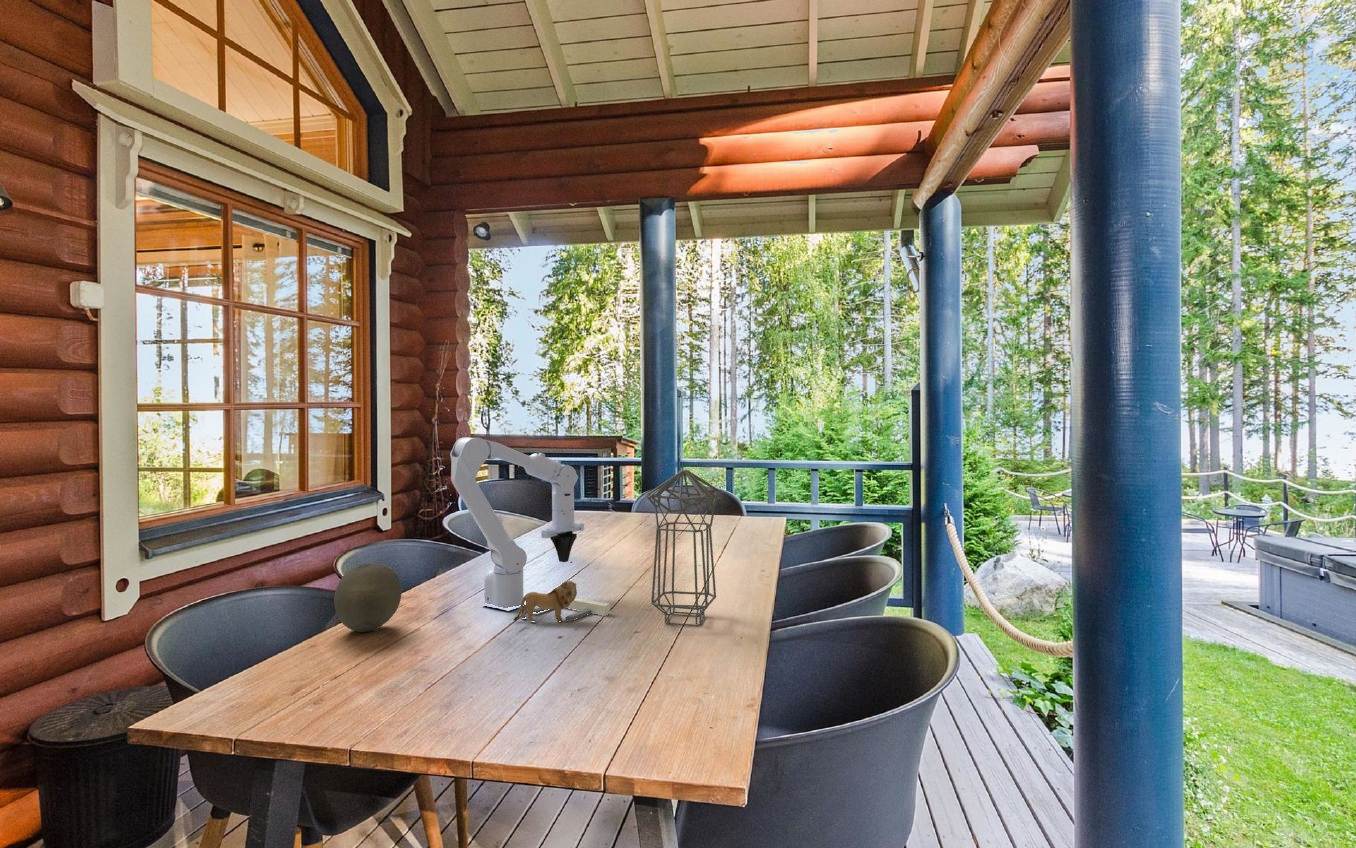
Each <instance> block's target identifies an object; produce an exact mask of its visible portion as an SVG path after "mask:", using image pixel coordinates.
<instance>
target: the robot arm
mask: <svg viewBox="0 0 1356 848" xmlns="http://www.w3.org/2000/svg"><path fill="white" fill-rule="evenodd" d="M449 455H450V461H451V469H450V471H451V472H450V479H451V481H450V482H451V483H452V485H453V487H454V489H455V490H456V492H457V494H458V495H459V496H460V499H462V502H463V504H464V505H465V507H466V508H467V510H468V511H469V513H470V515H471V517H472V518H473V520H474V521H475V523H476V525H477V526H478V528H479V530H480V531H481V534H483V536H484V538H485V540H486V543H487V545H486V546H487V547H488V549H489V551H490V559H491V561H492V563H493V564H494V568H493V569H491V570H490V571H488V572H487V574H486V576H485V577H484V604H485V603H487V604H493V605H495V606H498V607H503V608H508V607H513V606H519V605H521V602H522V599H523V598H524V567H525V566H526V564H527V559H528V558H527V557H528V556H527V553H526V551H525V550H524V549H523V548H522V547H520V546H519V545H517V543H516V541H515V540H514V539H513V538H512V537H511V536H510V535H509V534H508V533H507V531H506V529H505V528H504V526H503V524H502V522H501V521H500V519H499V517H498V516H497V514H496V512H495V511H494V508H492V505H491V504H490V502H489V501H488V499H487V498H486V496H485V494H484V492H483V490H482V488H481V487H480V485H479V483H478V482H477V480H476V478H477V475H478V474H479V473H478V472H479V470H480V468H481V467H482V466H483V464H484V463H486V461H487V460H489V461H491V460H494V459H499V460H502V461H504V462H508V463H511V464H513V465H517V466H519V467H521V468H523V469H524V470H525V473H526V474H527V475H529V476H531V477H534V478H537V479H540V480H542V481H545V482H547V483H550V484H551V497H552V498H551V510H552V511H551V513H552V515H551V516H552V517H551V518H552V519H551V520H552V524H551V525H552V526H549V527H548V528H545V529H542V530H541V533H540V534H541V535H540V536H541V537H540V538H541V539H550V540H551V542H552V545H553V546H554V548H555V551H556V554H557V558H558V561H559V563H567V562H569V560H570V559H569V558H570V555H571V551H572V548H573V546H574V542H575V541H576V539H577V536H578V535H577V533H575V532H578V531H585V523H584V522H575V485H576V483H577V482H578V479H579V475H578V474H577V471H576V469H575V468H574V467H573V466H572V465H568V464H562V461H561V460H559V459H556V460H555V459H552V458H549V457H546V454H545V453H543V452H538V453H537V452H536V453H532V454H531V455H528V454H525V453H523V452H521V451H518V450H516V449H513V448H512V447H510V446H506V445H504V444H502V443H499V442H496V441H492V440H487V439H484V438H481V437H468V436H463V437H461V438H458V439H457V440H456V441H455V443H454V444H453V447H452V449H451V451H450V454H449Z"/></svg>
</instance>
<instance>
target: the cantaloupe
mask: <svg viewBox="0 0 1356 848" xmlns="http://www.w3.org/2000/svg"><path fill="white" fill-rule="evenodd" d="M402 592H403V591H402V583H401V581H400V578H399V575H398V573H397V572H396V570H394V569H393V568H392V567H391V566H389V565H387V564H384V563H379V562H366V563H361V564H358V565H356V566H355V567H352V568H351V569H349V570H347V571H346V572H345V573H344V575H343V576H342V577H341V579H340V581H339V582H338V585H337V586H336V589H335V591H334V596H333V604H334V610H335V612H336V615H337V616H338V619H339V620H340V622H341V624H342V625H344V626H345V627H346V628H348V629H350V630H351V631H354V632H357V633H366V632H365V631H368V632H371V630H372V631H374V630H377V629H379V628H380V627H381V626H383V625H385V624H386V623H387V622H389V620H391V618H392V617H393V616H394V615H395V613H397V610H398V609H399V605H400V603H401V598H402V594H403V593H402Z"/></svg>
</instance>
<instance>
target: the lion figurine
mask: <svg viewBox="0 0 1356 848" xmlns="http://www.w3.org/2000/svg"><path fill="white" fill-rule="evenodd" d="M547 593H548V594H545V593H540V592H536V591H531V592H527V593H526V594H525V595H523V599H522V602H521V606H520V608H519V610H518V613H517V615H516V616H515V617H514V618H512V619H513V620H512V621H518V620H519V618H520V619H521V618H525V617H527V619H528V620H529V622H530V621H536V622H537V620H536V619H533V614H532V613H533V610H534V609H535V606H536V607H537V608H541V609H546V610H548V609H553V610H554V618H555V619H556V621H563V622H564V620H563V619H562V616H561V615H562V609H563V608H567V607H568V606H569V605H570V603H571V602H572V601H574V600H575V598H577V594H578V589H577V583H575V582H574V581H571V580H566V581H564V582H561V584H560V585H558V586H557V587H554V588H553V589H552V590H551V591H550V592H547ZM525 601H526V605H525V606H524V607H523V605H524V602H525ZM526 613H528V614H527V616H525V614H526ZM560 617H561V618H560Z"/></svg>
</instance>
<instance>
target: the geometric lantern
mask: <svg viewBox="0 0 1356 848" xmlns="http://www.w3.org/2000/svg"><path fill="white" fill-rule="evenodd" d="M687 479H688V481H689V482H690V484H691V485H692V487H693V488H694V489H695V491H696V493H693V492H691V493H690V492H689V487H688V481H687ZM679 481H680V482H679ZM678 483H680V485H679V490H677V489H676V487H677V485H678ZM705 485H706V486H707V487H709V488H711V489H708V488H707V487H706V486H705ZM683 486H685V491H683ZM670 487H672V488H671V489H670ZM664 492H667V493H668V495H662V494H663V493H664ZM675 493H677V494H679V496H678V495H677V494H675ZM720 493H722V490H720V489H719V488H717V487H715V486H713V485H712V484H711V483H709V482H707V481H705V480H704V479H703V478H701V477H699V476H698V475H696V474H694V473H693V472H691V471H690V470H689V469H680V470H679V471H678V472H677V473H676V474H675V475H673V476H671V477H670V478H668V479H667V480H666V481H664V482H663V483H661V484H659V485H658V486H656V487H655V488H654V489H652V490H651V491H649V492H647V493H646V494H645V498H646V499H647V500H648V501H649V502H650V503H651V504H652V506H653V507H654V511H655V512H654V514H655V520H656V521H655V523H656V530H655V533H656V534H655V545H654V561H653V573H652V586H651V587H652V588H651V589H652V590H651V602H650V603H651V605H652V606H653V607H655V608H656V609H658V610H659V611H660V612H661V613H662V614H663V615H664V624H666V625H673V626H687V627H688V626H689V627H698V626H702V624H703V621H704V619H705V616H706V614H705V611H706V610H707V609H708V608H709V606H710V605H711V604H712V603H713V602H714V600H715V599H717V593H716V592H717V591H716V590H717V588H716V579H715V578H716V575H715V566H714V562H715V561H714V552H713V551H714V550H713V539H712V526H713V522H714V521H713V520H714V515H715V511H716V510H715V509H716V507H717V502H718V501H717V500H718V498H719V496H720ZM683 495H687V497H684V498H683ZM690 496H691V497H690ZM661 499H666V502H667V504H668V507H667V506H666V505H665V504H663V503H661ZM670 500H678V502H679V507H680V508H678V509H672V508H671V505H670V504H671V503H670ZM692 500H694V501H692ZM706 500H708V501H707V503H708V504H707V507H708V509H706V510H705V513H704V515H702V513H701V511H700V509H699V507H698V506H700V504H701V503H702V502H704V501H706ZM690 501H692V502H690ZM683 504H684V505H683ZM692 506H694V507H696V509H697V512H698V514H699V516H700V517H701V519H702V520H701V522H693V521H691V519H690V518H689V516H688V514H687V512H686V511H685V510H686V509H688V508H690V507H692ZM658 508H659V510H660V512H661V515H662V517H663V518H662V520H661V521H660V523H659V516H658V515H659V514H658ZM662 508H663V509H665V510H666V513H665V514H664V512H663V510H662ZM708 511H712V512H711V517H710V522H709V523H707V522H706V521H705V519H706V516H707V513H708ZM678 512H679V513H678ZM668 513H678V515H677V516H676V518H675V520H674V521H672V522H671V521H670V522H668V520H667V519H666V517H667V515H668ZM682 514H684V516H685V518H686V520H687V522H682V521H681V522H679V521H678V520H679V519H680V517H681V515H682ZM664 521H665V523H664ZM669 525H673V527H672V528H673V529H671V528H669ZM676 525H690V526H691V528H692V529H693V530H692V529H676ZM694 525H699V527H698V529H697V528H695V526H694ZM703 525H704V526H705V528H704V529H701V528H702V526H703ZM664 526H665V528H663V527H664ZM661 531H665V540H664V541H665V544H664V545H665V546H664V561H663V562H664V563H663V578H662V579H663V580H662V581H663V582H662V593H661V539H662V538H661V536H662V535H661V534H662V532H661ZM669 532H672V561H671V563H672V564H671V565H672V567H671V570H672V572H671V590H670V591H665V590H666V578H667V577H666V576H667V563H668V562H667V559H668V542H669ZM676 532H685V533H693V534H692V535H693V541H692V542H693V562H694V563H693V565H694V568H693V569H694V592H693V591H682V590H681V591H680V590H678V591H677V590H675V558H676V556H675V555H676ZM704 532H705V535H706V536H705V538H706V539H705V540H704ZM696 533H700V543H701V545H700V546H701V560H702V572H703V573H702V574H703V575H702V576H703V591H704V592H698V590H699V589H698V565H697V562H698V561H697V539H696ZM704 541H706V555H705V542H704ZM709 548H710V549H709ZM709 552H710V553H709ZM709 555H710V556H709ZM705 556H706V557H705ZM705 558H706V559H705ZM710 562H711V576H712V589H713V594H712V593H710ZM656 573H657V597H656V598H655V586H656ZM674 594H675V595H676V594H678V595H679V594H680V595H695V596H694V597H695V598H694V599H695V605H694V604H675V595H674ZM667 595H671V597H672V604H671V602H670V599H668V597H667ZM699 595H700V596H704V600H703V601H702V603H701V605H699V599H698V598H699ZM663 596H664V598H665V600H666V601H667V603H668V604H664V603H663V604H661V598H662V597H663ZM709 596H710V597H712V598H711V599H710V600H709V601H708V597H709ZM704 604H705V605H704ZM665 608H667V610H665ZM676 609H684V610H692V611H693V610H694V611H696V612H685V611H676ZM668 612H669V613H668ZM671 616H675V617H676V616H677V617H688V618H690V617H691V618H695V623H678V622H677V623H676V622H670V617H671ZM698 619H699V622H698Z"/></svg>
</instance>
